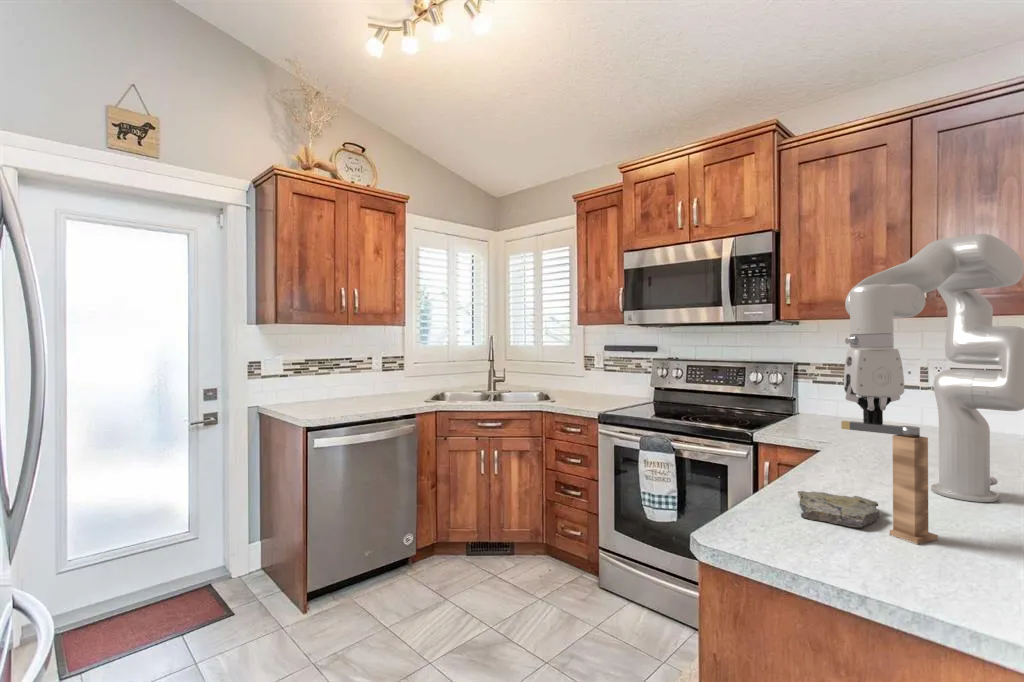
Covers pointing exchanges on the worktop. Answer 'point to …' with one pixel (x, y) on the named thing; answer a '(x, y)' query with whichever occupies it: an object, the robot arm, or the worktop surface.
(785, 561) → the worktop surface
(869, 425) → the latch bar
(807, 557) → the worktop surface
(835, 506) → the stone
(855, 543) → the worktop surface
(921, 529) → the post
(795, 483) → the worktop surface
